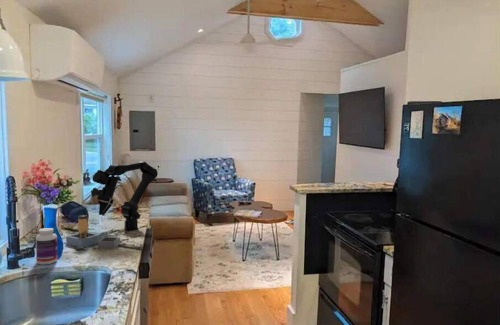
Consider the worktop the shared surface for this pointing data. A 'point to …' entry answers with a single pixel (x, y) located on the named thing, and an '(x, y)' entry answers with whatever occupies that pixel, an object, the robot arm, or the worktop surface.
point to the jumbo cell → (82, 226)
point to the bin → (82, 240)
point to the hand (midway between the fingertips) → (101, 215)
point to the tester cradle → (108, 242)
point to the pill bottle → (46, 246)
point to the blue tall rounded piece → (42, 217)
